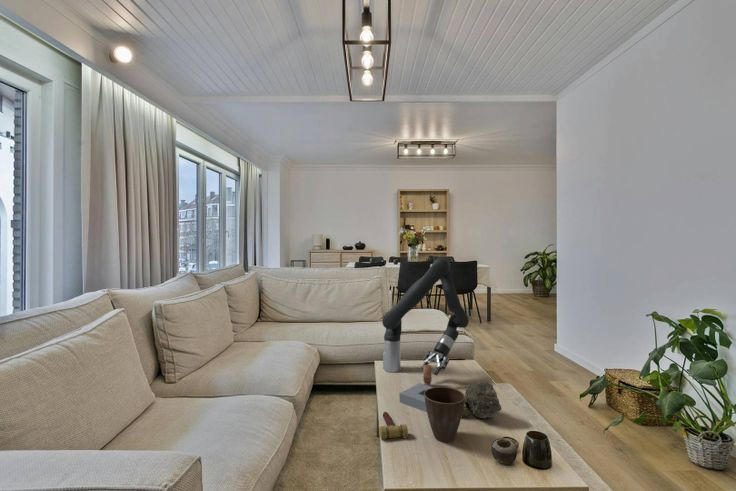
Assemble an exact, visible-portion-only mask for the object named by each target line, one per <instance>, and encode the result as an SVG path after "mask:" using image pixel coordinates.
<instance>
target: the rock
mask: <svg viewBox="0 0 736 491" xmlns="http://www.w3.org/2000/svg"><path fill="white" fill-rule="evenodd" d="M464 388H465V392H464V396H465V400H464V406H463V412H462V417H461V418H464V417H467V416H468V415H474V416H475V417H476V418H479V419H486V418H493V416H496V415H497V414H498V412H500V411H501V410H502V405H501V404H500V399H499V398H498V393H497V391H496V389H495V388H494V386H493V384H492V383H489V382H488V381H485V382H483V381H481V382H477V383H475V382H473V383H469V385H467V386H466V385H464Z"/></svg>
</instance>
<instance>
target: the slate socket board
mask: <svg viewBox="0 0 736 491" xmlns="http://www.w3.org/2000/svg"><path fill="white" fill-rule="evenodd" d="M430 388H433V386H432V385H431V386H428V385H424V383H421V382H419V383H417V384H415V385H413V386H412V387H411V386H410V387H409V388H406V389H405V390H403V391H401V392H399V402H400V403H402V404H404V405H407V406H409V407H412V408H415V409H417V410H420V411H423V412H424V413H427V410H426V404H425V397H424V392H425V391H426V390H427V389H430Z"/></svg>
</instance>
